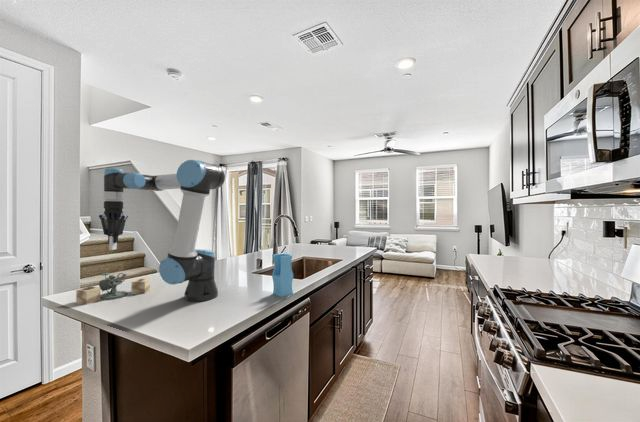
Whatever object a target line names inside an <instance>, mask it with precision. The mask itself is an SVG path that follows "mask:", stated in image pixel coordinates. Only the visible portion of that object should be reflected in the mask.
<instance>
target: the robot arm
mask: <svg viewBox="0 0 640 422" xmlns="http://www.w3.org/2000/svg"><path fill="white" fill-rule="evenodd" d="M103 172H104V174H103V209H104V212H103V213H102V214H99V215H98V218H99V219H100V222H101V227H102V232H103V234H104V235H106V236H107V242H108V243H109V244H108V245H109V246H108V247H109V251H113V250H117V249H118V243H119V236H120V235H121V236H122V235H123V232H124V229H125V225H126V221H127V219H128V218H129V215H125V214H124V211H123V209H124V202H123V201H124V189H125V190H127V189H128V190H129V189H130V190H143V191H154V192H161V191H165V190H176V189H179V190H180V191H181V192H182V193H183V194H182V198H181V204H180V210H179V215H178V219H177V226H176V231H175V237H174V241H173V247H172V248H170V249H169V250H168V253H167V258H166V257H165V258H164V259H162V260H161V262H160V263H159V265H158V272H159V275H160V277H161V279H162V280H163V281H164V282H165V283H167V284H168V285H173V286H174V285H178V284H182V283H185V282H187V285H186V289H185V291H184V294H183V295H184V297H183V299H184V300H185V301H188V302H204V301H210V300H213V299H215V298H216V297H218V295H219V290H218V287H217V284H216V281H215V263H216V262H215V261H216V260H215V259H216V258H215V255H216V254H215V251H214V250H211V249H200V248H199V249H197V248H196V246H197V245H196V244H197V239H198V233H199V229H200V225H201V224H200V223H201V219H202V214H203V209H204V205H205V204H204V203H205V199H206V197H208V196H209V195H210V192H211V190H216V189H219V188H221V187H222V186H223V185H224V183H225V182H226V181H225V180H226V173H225V172H224V170H223V169H222V168H221V167H220V166H219V165H217V164H214V163H209V162H205V161H202V160H198V159H187V160H185V161H184V162H181V164H179V165H178V168H177V170H176V173H169V174H158V175H149V174H142V173H140V172H133V171H132V172H131V171H130V172H124V169H121V168H116V167H115V168H112V167H110V168H105V169H104V171H103Z"/></svg>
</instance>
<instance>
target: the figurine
mask: <svg viewBox="0 0 640 422" xmlns="http://www.w3.org/2000/svg"><path fill="white" fill-rule="evenodd" d="M108 275H109V276H108ZM119 275H122V276H121V277H120V276H119ZM101 276H104V277H105V278H104V279H102V280H100V281H99V282H98V287H100V291H102V292H104V293H102V294H100V301H111V300H116V299H120V298H123V297H124V298H125V297H126V296H127V295H128V292H127V291H125V290H118V289H117V286H119V285H122V284H123V282H125V281H126V280H125V279H124V278H125V277H126V276H127V273H123V272H119V273H118V274H117V276H115V275H113V274H111V275H110V272H103V273H101ZM107 276H108V277H107ZM109 290H110V291H109ZM105 291H106V292H105Z"/></svg>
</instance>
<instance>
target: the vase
mask: <svg viewBox="0 0 640 422" xmlns="http://www.w3.org/2000/svg"><path fill="white" fill-rule="evenodd" d="M293 256H294V255H293V254H290V253H283V252H282V253H276V254H275V253H274V254H272V258H273V263H274V268H273V271H272V273H271V276H272V277H271V278H272V282H273V292H272V295H275V296H276V297H279V298H283V297H287V296H292V295H294V291H293V280H294V276H295V275H294V272H293V270H292V269H293V268H292V261H293V260H292V259H293Z"/></svg>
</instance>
